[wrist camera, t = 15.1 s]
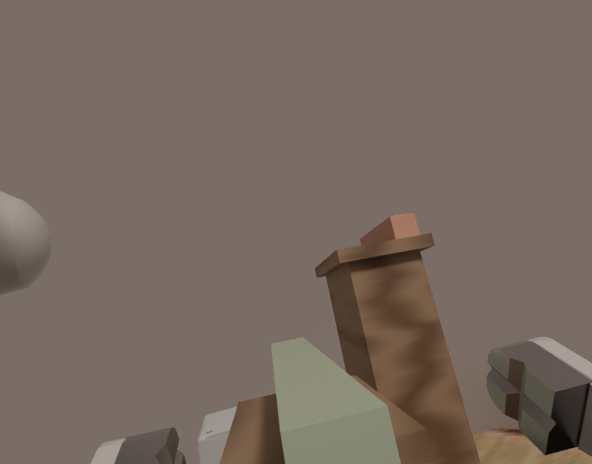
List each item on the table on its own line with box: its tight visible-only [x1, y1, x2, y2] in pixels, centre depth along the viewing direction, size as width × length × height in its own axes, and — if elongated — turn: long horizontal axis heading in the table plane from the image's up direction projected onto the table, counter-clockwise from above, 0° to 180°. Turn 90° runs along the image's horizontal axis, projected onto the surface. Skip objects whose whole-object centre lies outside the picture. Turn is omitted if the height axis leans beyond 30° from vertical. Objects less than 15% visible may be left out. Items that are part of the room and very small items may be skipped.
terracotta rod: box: [360, 213, 420, 245], centre depth 35 cm, size 2×10×2 cm, turn 6°
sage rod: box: [271, 338, 401, 464], centre depth 18 cm, size 3×21×3 cm, turn 5°
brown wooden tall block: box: [315, 233, 481, 464], centre depth 31 cm, size 9×13×26 cm
